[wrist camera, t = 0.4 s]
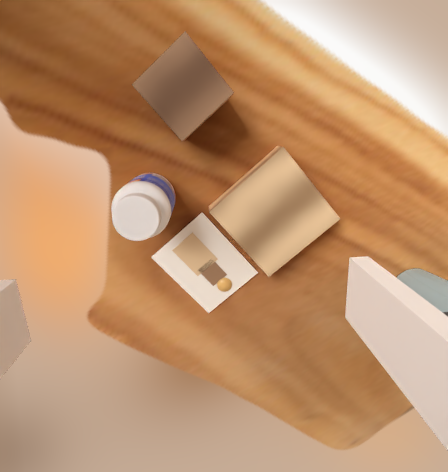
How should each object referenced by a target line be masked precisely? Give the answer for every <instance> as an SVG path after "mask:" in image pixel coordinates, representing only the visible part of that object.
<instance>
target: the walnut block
mask: <svg viewBox="0 0 448 472" xmlns="http://www.w3.org/2000/svg"><path fill="white" fill-rule="evenodd" d="M132 85H133V87H134V88H135V89H136V90H137V91H138V92H139V93H140V94H141V96H142V97H143V98H144V99H145V100H146V101H147V102H148V103H149V105H150V106H151V107H152V108H153V109H154V110H155V111H156V113H157V114H158V115H159V116H160V117H161V118H162V119H163V120H164V122H165V123H166V124H167V125H168V126H169V127H170V128H171V129H172V131H173V132H174V133H175V134H176V135H177V136H178V137H179V139H180V140H181V141H184V140H186V139H187V138H188V137H189V136H190V135H191V134H192V133H193V132H194V131H195V130H196V129H198V128H199V127H200V126H201V125H202V124H203V123H204V122H205V121H206V120H207V119H208V118H209V117H210V116H211V115H213V114H214V113H215V112H216V111H217V110H218V109H219V108H220V107H221V106H222V105H223V104H224V103H225V102H226V101H228V99H229V98H230V97H231V96H232V95H233V93H234V92H233V91H232V89H231V88H230V87H229V86H228V84H227V83H226V82H225V81H224V79H223V78H222V77H221V76H220V74H219V73H218V72H217V71H216V69H215V68H214V67H213V66H212V64H211V63H210V62H209V61H208V59H207V58H206V57H205V56H204V54H203V53H202V52H201V50H200V49H199V48H198V47H197V45H196V44H195V43H194V42H193V40H192V39H191V38H190V37H189V35H188V34H187V33H186V32H184V33H183V34H182V35H181V36H180V37H179V38H178V39H177V40H176V41H175V42H174V43H173V44H172V45H171V46H170V47H169V48H168V49H167V50H166V51H165V52H164V53H163V54H162V55H161V56H160V57H159V58H158V59H157V60H156V61H155V62H154V63H153V64H152V65H151V66H150V67H149V68H148V69H147V70H146V71H145V72H144V73H143V74H142V75H141V76H140V77H139V78H138V79H137V80H136V81H135V82H134V83H133V84H132Z"/></svg>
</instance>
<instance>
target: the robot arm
mask: <svg viewBox="0 0 448 472" xmlns="http://www.w3.org/2000/svg"><path fill="white" fill-rule="evenodd" d="M345 318H346V319H347V321H348V322H349V323H350V325H351V326H352V327H353V329H354V330H355V331H356V332H357V334H358V335H359V336H360V338H361V339H362V340H363V341H364V343H365V344H366V345H367V347H368V348H369V349H370V351H371V352H372V353H373V354H374V356H375V357H376V358H377V360H378V361H379V362H380V364H381V365H382V366H383V367H384V369H385V370H386V371H387V373H388V374H389V375H390V377H391V378H392V379H393V380H394V382H395V383H396V384H397V386H398V387H399V388H400V390H401V391H402V392H403V393H404V395H405V396H406V397H407V399H408V400H409V401H410V402H411V404H412V405H413V406H414V408H415V409H416V410H417V411H418V413H419V414H420V415H421V417H422V418H423V419H424V421H425V422H426V423H427V425H428V426H429V427H430V428H431V430H432V431H433V432H434V434H435V435H436V436H437V438H438V439H439V440H440V441H441V443H442V444H443V445H444V446H445V448H446V449H447V450H448V312H441V311H440V310H438V309H437V308H436V307H434V306H433V305H432V304H430V303H429V302H428V301H427V300H425V299H424V298H423V297H421V296H420V295H419V294H417V293H416V292H415V291H413V290H412V289H411V288H409V287H408V286H407V285H405V284H404V283H403V282H401V281H400V280H399V279H397V278H396V277H395V276H393V275H392V274H391V273H389V272H388V271H387V270H385V269H384V268H383V267H381V266H380V265H379V264H377V263H376V262H375V261H373V260H372V259H371V258H370V257H368V256H366V257H350V258H349V271H348V285H347V299H346V313H345ZM30 342H31V339H30V335H29V330H28V326H27V322H26V318H25V314H24V310H23V306H22V302H21V298H20V294H19V290H18V286H17V282H16V279H12V280H0V379H1V378H2V376H3V375H4V374H5V373H6V371H7V370H8V369H9V368H10V366H11V365H12V364H13V363H14V361H15V360H16V359H17V358H18V357H19V355H20V354H21V353H22V352H23V350H24V349H25V348H26V347H27V345H28V344H29V343H30Z"/></svg>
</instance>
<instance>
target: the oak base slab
mask: <svg viewBox="0 0 448 472" xmlns="http://www.w3.org/2000/svg"><path fill="white" fill-rule="evenodd" d="M209 213H210V214H211V215H212V216H213V217H214V218H215V219H216V220H217V221H218V222H219V223H220V224H221V226H222V227H223V228H224V229H225V230H226V231H227V232H228V233H229V234H230V235H231V236H232V238H233V239H234V240H235V241H236V242H237V243H238V244H239V245H240V246H241V247H242V248H243V249H244V251H245V252H246V253H247V254H248V255H249V256H250V257H251V258H252V259H253V260H254V261H255V262H256V264H257V265H258V266H259V267H260V268H261V269H262V270H263V271H264V272H265V273H266V274H267V275H268V277H269V276H271V275H272V274H273V273H274V272H276V271H277V270H278V269H279V268H281V267H282V266H283V265H284V264H285V263H287V262H288V261H289V260H290V259H292V258H293V257H294V256H295V255H297V254H298V253H299V252H300V251H301V250H303V249H304V248H305V247H306V246H308V245H309V244H310V243H311V242H313V241H314V240H315V239H316V238H317V237H319V236H320V235H321V234H322V233H324V232H325V231H326V230H327V229H329V228H330V227H331V226H332V225H334V224H335V223H336V222H337V221H338V220H340V218H339V216H338V215H337V214H336V213H335V211H334V210H333V209H332V208H331V206H330V205H329V204H328V203H327V201H326V200H325V199H324V198H323V196H322V195H321V194H320V192H319V191H318V190H317V189H316V187H315V186H314V185H313V184H312V182H311V181H310V180H309V179H308V177H307V176H306V175H305V173H304V172H303V171H302V170H301V168H300V167H299V166H298V165H297V163H296V162H295V161H294V160H293V158H292V157H291V156H290V155H289V153H288V152H287V151H286V149H285V148H284V147H281V146H276V147H275V148H274V149H273V150H272V151H271V152H270V153H268V154H267V155H266V156H265V157H264V158H263V159H262V160H261V161H259V162H258V163H257V164H256V165H255V166H254V167H253V168H251V169H250V170H249V171H248V172H247V173H246V174H245V175H244V176H242V177H241V178H240V179H239V180H238V181H237V182H236V183H234V184H233V185H232V186H231V187H230V188H229V189H228V190H227V191H225V192H224V193H223V194H222V195H221V196H220V197H219V198H217V199H216V200H215V201H214V202H213V203H212V204H211V205H210V206H209Z"/></svg>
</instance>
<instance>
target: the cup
mask: <svg viewBox="0 0 448 472" xmlns="http://www.w3.org/2000/svg"><path fill="white" fill-rule="evenodd" d="M397 279H399V280H400V281H401V282H403V283H404V284H405V285H407V286H408V287H409V288H411V289H412V290H413V291H415V292H416V293H417V294H419V295H420V296H421V297H423V298H424V299H425V300H427V301H428V302H429V303H430V304H432V305H433V306H434V307H436V308H437V309H438V310H440V311H441V312H448V280H445V279H443V278H441V277H439V276H436V275H434V274H432V273H429V272H427V271H425V270H422V269H409V270H406V271H404V272H403V273H401V274H400V275H398V276H397Z"/></svg>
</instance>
